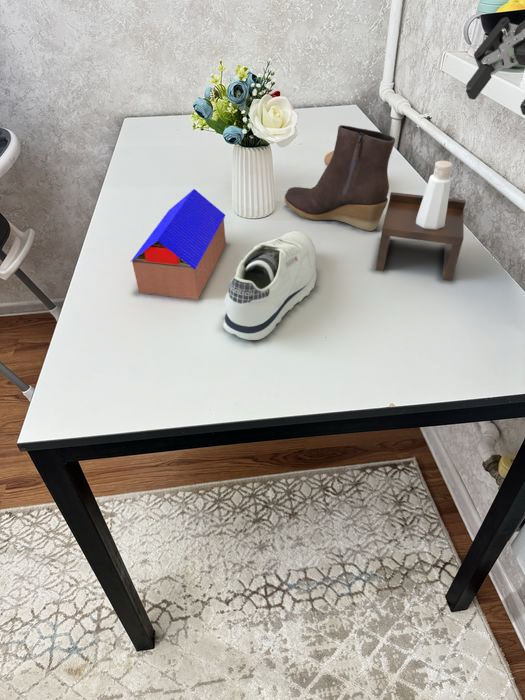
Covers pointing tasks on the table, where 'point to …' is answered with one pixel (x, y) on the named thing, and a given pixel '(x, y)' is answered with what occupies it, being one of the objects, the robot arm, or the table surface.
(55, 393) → the table surface
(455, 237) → the shelf
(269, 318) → the running shoe
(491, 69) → the robot arm
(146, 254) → the house
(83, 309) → the table surface
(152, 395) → the table surface
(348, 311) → the table surface
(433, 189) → the salt shaker
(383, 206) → the boot
